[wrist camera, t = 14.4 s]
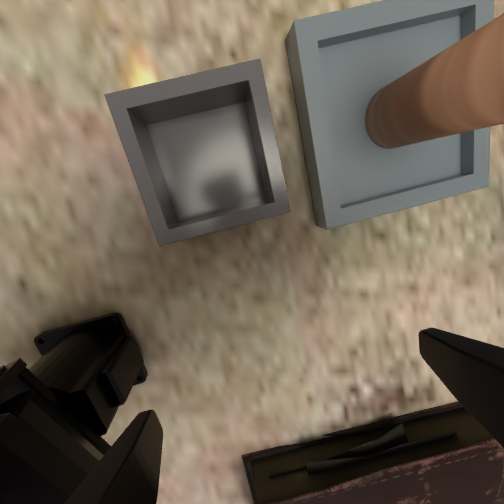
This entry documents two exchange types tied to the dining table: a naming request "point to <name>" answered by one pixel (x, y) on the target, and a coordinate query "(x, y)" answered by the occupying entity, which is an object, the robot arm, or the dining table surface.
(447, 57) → the dowel pin
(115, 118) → the grey square bin
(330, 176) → the slate tray
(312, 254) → the dining table surface
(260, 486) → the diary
